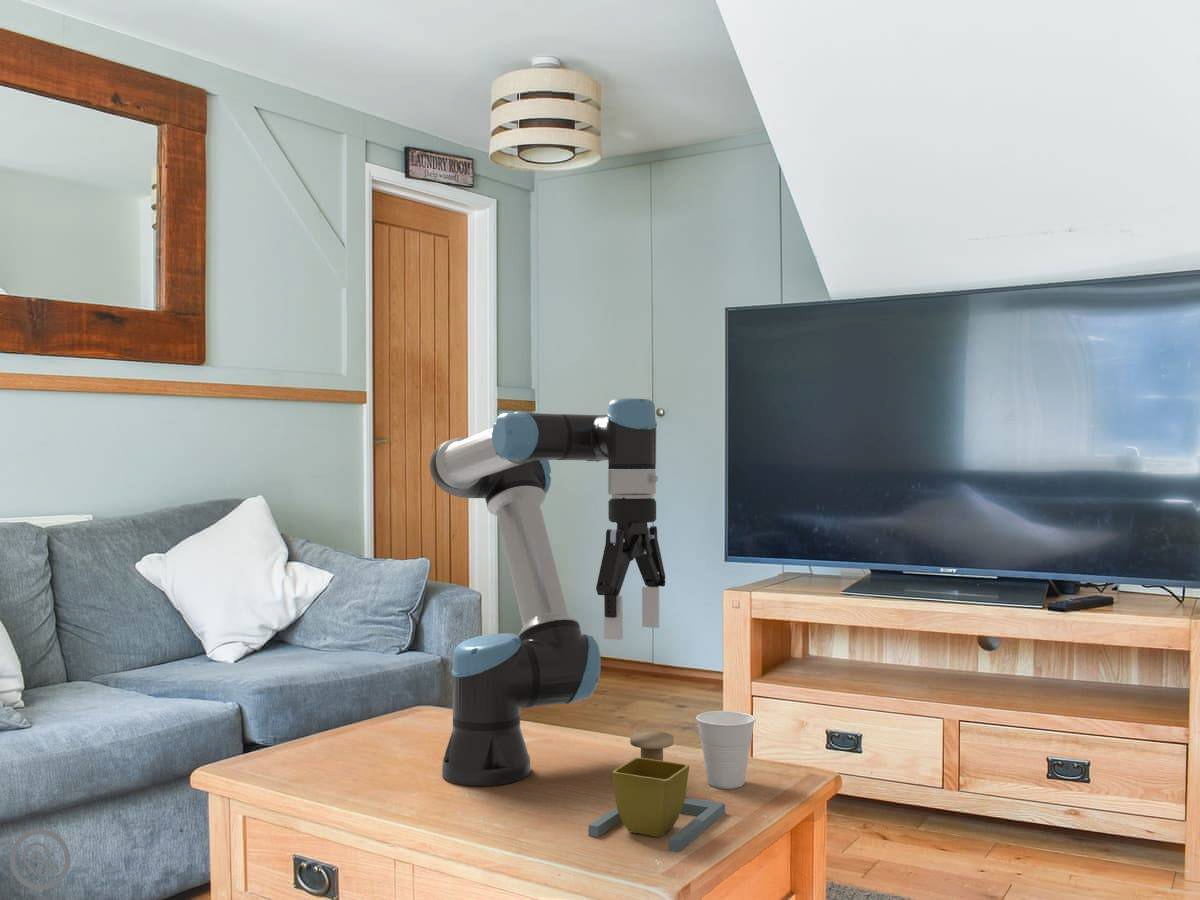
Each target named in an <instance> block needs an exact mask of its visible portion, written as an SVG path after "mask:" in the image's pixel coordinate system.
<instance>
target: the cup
mask: <svg viewBox="0 0 1200 900" xmlns="http://www.w3.org/2000/svg"><path fill="white" fill-rule="evenodd" d="M695 719H696V722H697V725H698V733H699V738H700V739H699V740H700V742H701V748H702V749H701V750H702V755H703V761H704V766H705V767H704V768H705V775H706V780H707V783H708V784H709V785H710V786H711V787H713V788H717V789H725V790H732V789H737V788H741V787H742V786H743V785H744V784H745V783H746V777H747V768H748V763H749V756H750V755H749V754H750V750H751V749H750V748H751V744H752V737H753V730H754V724H755V722H756V717H755V716H753V715H752V714H749V713H746V712H741V711H733V710H713V711H705V712H702V713H698V714H697V715H696V717H695Z"/></svg>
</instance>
